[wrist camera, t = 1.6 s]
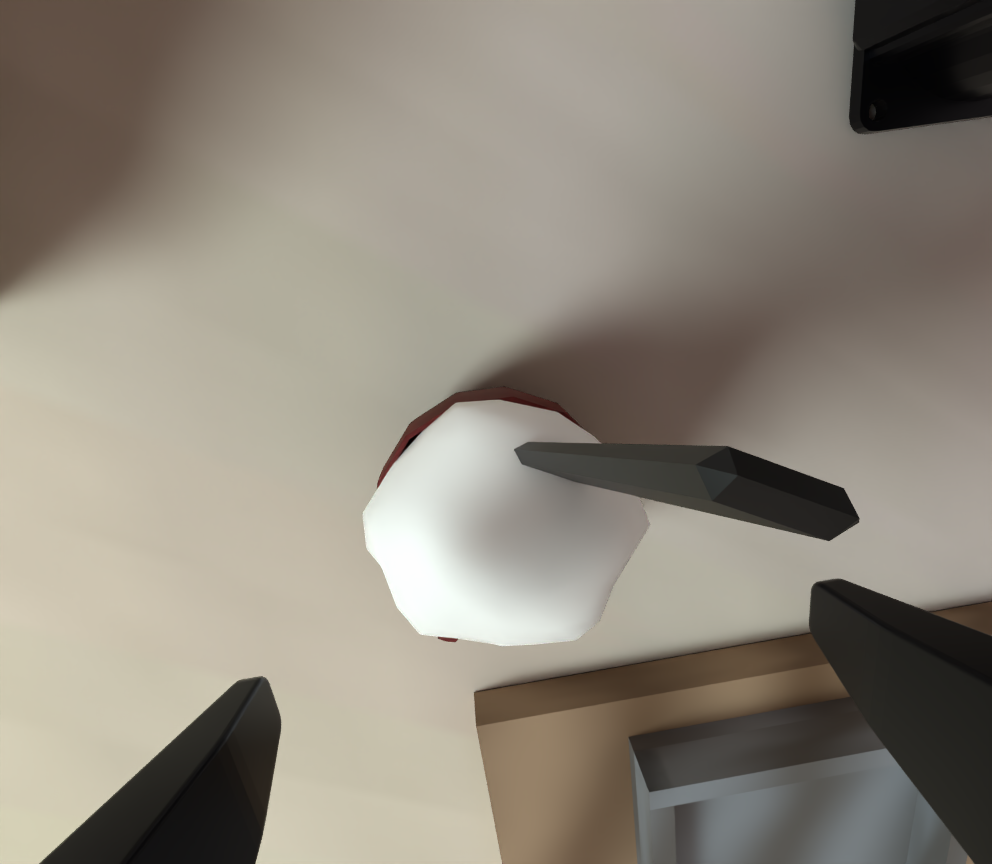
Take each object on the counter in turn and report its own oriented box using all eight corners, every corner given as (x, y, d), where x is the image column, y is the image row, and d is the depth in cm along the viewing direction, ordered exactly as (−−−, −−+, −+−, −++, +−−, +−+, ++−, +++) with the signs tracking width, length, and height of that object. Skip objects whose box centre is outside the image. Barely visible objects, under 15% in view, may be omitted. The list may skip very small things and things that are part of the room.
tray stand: (1042, 592, 21) (1158, 659, 18) (971, 901, 27) (1048, 995, 24) (473, 692, 20) (479, 783, 17) (529, 988, 26) (542, 1100, 23)
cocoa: (471, 593, 19) (509, 1110, 8) (323, 491, 17) (110, 991, 6) (673, 400, 17) (1088, 743, 6) (531, 259, 15) (762, 391, 4)
